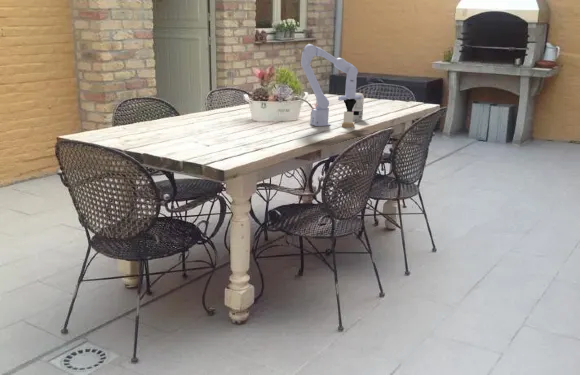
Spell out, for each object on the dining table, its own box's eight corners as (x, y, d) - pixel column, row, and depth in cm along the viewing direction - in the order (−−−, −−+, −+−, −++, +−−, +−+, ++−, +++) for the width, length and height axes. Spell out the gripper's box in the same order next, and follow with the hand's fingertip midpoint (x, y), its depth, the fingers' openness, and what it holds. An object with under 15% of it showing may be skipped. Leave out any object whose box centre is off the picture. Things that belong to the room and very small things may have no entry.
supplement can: (346, 119, 362) (347, 93, 358) (351, 117, 369) (353, 92, 365) (359, 121, 359) (360, 95, 355) (364, 119, 366) (366, 93, 362)
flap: (343, 122, 341) (343, 111, 339) (353, 123, 340) (354, 111, 339) (342, 123, 338) (343, 111, 337) (353, 124, 337) (353, 112, 336)
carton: (342, 124, 345) (343, 121, 345) (354, 125, 344) (354, 122, 344) (341, 127, 339) (342, 123, 338) (353, 127, 338) (353, 124, 337)
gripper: (356, 86, 345) (355, 111, 349) (335, 87, 338) (334, 112, 342) (364, 88, 340) (363, 113, 343) (343, 89, 332) (341, 114, 336)
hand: (349, 112), depth 342 cm, fingers closed
